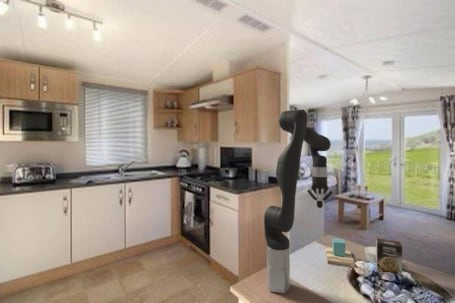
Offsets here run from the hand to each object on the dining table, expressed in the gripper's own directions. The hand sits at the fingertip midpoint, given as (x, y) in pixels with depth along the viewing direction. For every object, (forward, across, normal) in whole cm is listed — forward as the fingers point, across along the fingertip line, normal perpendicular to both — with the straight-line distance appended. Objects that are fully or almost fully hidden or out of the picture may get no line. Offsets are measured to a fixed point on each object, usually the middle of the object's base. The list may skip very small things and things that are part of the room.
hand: (319, 207), depth 127 cm
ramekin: (+25, +27, 0) cm, 37 cm away
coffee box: (+25, +27, -16) cm, 40 cm away
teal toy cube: (+22, +9, -2) cm, 24 cm away
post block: (+25, +9, -2) cm, 27 cm away
